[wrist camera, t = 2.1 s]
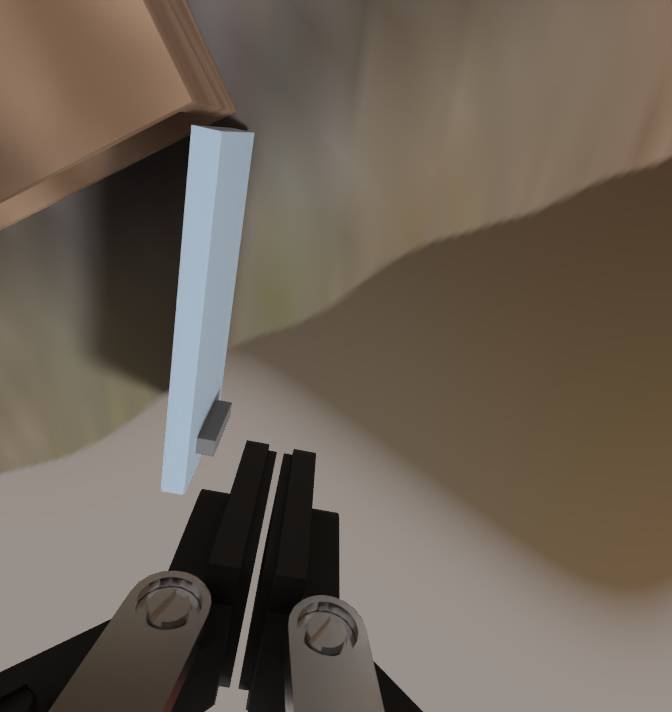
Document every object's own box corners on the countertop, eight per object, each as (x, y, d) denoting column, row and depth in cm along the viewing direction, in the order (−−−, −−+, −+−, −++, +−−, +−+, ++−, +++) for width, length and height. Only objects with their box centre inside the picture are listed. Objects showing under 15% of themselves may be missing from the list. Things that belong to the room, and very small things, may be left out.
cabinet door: (232, 127, 28) (191, 124, 20) (272, 136, 28) (247, 136, 20) (199, 415, 35) (160, 491, 27) (232, 421, 35) (202, 498, 27)
